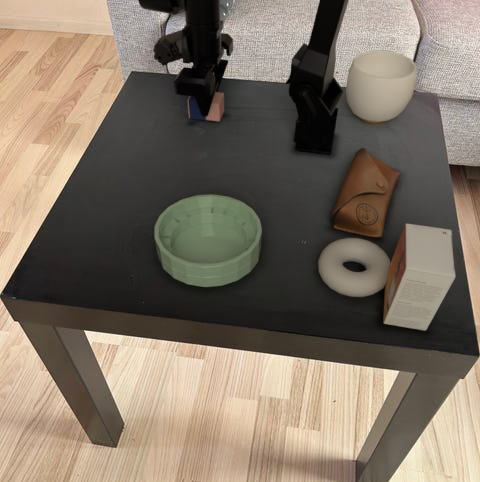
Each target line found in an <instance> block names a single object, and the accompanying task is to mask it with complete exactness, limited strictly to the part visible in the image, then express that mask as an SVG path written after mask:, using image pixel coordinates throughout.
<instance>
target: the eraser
mask: <svg viewBox="0 0 480 482" xmlns="http://www.w3.org/2000/svg"><path fill="white" fill-rule="evenodd" d="M187 112H188V119H192V120H200V121H211V122H221V119H222V117H223V115H224V112H225V92H220V91H218V92H215V95H214V98H213V102H212V105H211V108H210V111H209V114H208V116H207V117H206V116H202V115H201V112H200V109H199V107H198V104H197V102H196V99H195V97H194V96H188V98H187Z"/></svg>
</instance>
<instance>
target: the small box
mask: <svg viewBox="0 0 480 482" xmlns="http://www.w3.org/2000/svg"><path fill="white" fill-rule="evenodd" d="M390 263H391V264H390V266H389V274H388V280H387V283H386V285H385V286H384V294H383V295H384V296H383V320H382V323H383V324H384V325H389V326H396V327H401V328H408V329H413V330H419V331H424V332H425V331H427V330H428V328H429V326H430V324H431V323H432V321H433V319H434V317H435V315H436V313H437V312H438V310H439V308H440V306H441V304H442V303H443V300H444V299H445V298H446V295H447V294H448V291H449V290H450V288H451V286H452V285H453V283H454V281H455V279H456V270H455V260H454V249H453V230H452V229H448V228H443V227H442V228H441V227H436V226H427V225H421V224H413V223H405V224H404V227H403V229H402V232H401V235H400V237H399V239H398V242H397V246H396V248H395V250H394V253H393V256H392V258H391V260H390Z"/></svg>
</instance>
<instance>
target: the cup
mask: <svg viewBox="0 0 480 482" xmlns="http://www.w3.org/2000/svg"><path fill="white" fill-rule="evenodd" d="M416 85H417V64H416V62H414V60H413V59H412V58H410V57H408V56H407V55H405V54H403V53H399V52H395V51H393V50H392V51H391V50H379V49H378V50H368V51H365V52H361V53H359V54H358V55H356V57H354V59H353V60H352V62H351V64H350V67H349V69H348V74H347V79H346V85H345V97H346V104H347V105H348V106H349V109H350V110H351V112H352V114H354V115H355V116H357V118H359V119H361V120H362V121H364V122H367V123H371V124H380V123H384V122H388V121H390V120H393V119H395V118H396V117H398V116H399V115H400V114H401V113H403V111H404V110H405V109H406V108H407V106H408V104H409V103H410V101H411V99H412V98H413V95H414V92H415V88H416Z"/></svg>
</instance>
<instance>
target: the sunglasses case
mask: <svg viewBox="0 0 480 482" xmlns="http://www.w3.org/2000/svg"><path fill="white" fill-rule="evenodd" d="M401 173H402V172H401V171H400V170H396V169H394V168H393V167H391V166H390V165H389V164H387V163H385V162H384V161H382V160H381V159H379V158H377V157H376V156H374V155H373V154H372V153H369V152H368V151H367V149H366V147H361V148H359V149H358V150H356V152H355V154H354V156H353V158H352V161H351V163H350V165H349V168H348V170H347V172H346V175H345V177H344V180H343V183H342V186H341V188H340V190H339V193H338V195H337V197H336V201H335V203H334V206H333V210H332V212H331V215H330V220H329V221H330V224H331V225H332V227H333V228H334V229H335V230H337V231H342V232H345V233H348V234H352V235H357V236H362V237H368V238H374V239H378V238H382V237H383V234H384V229H385V224H386V218H387V214H388V209H389V206H390V202H391V199H392V196H393V193H394V190H395V187H396V184H397V182H398V179H399V178H400V176H401Z"/></svg>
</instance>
